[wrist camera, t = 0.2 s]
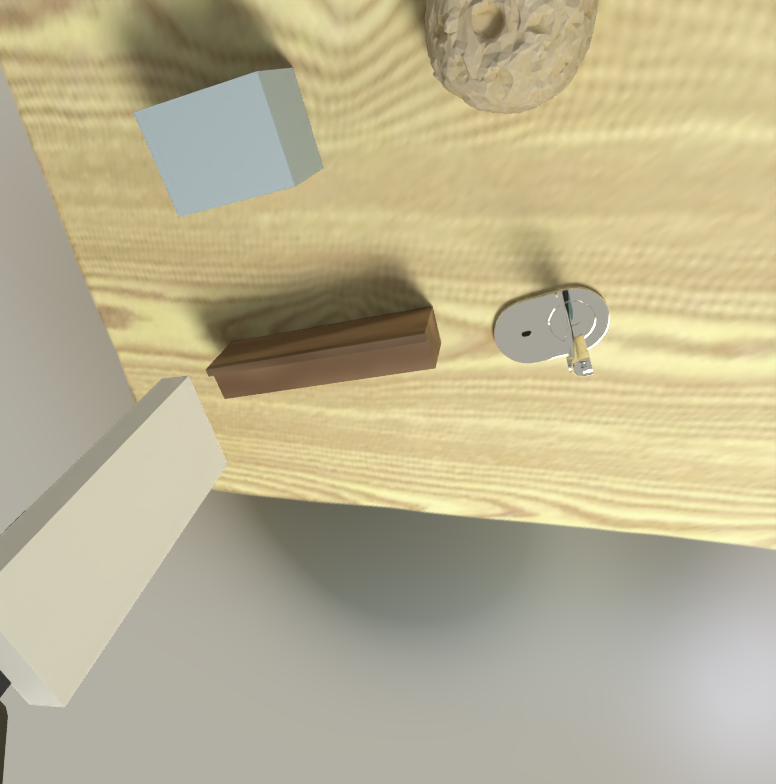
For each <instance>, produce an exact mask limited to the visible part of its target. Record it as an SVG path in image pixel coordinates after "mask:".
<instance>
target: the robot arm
mask: <svg viewBox="0 0 776 784" xmlns="http://www.w3.org/2000/svg"><path fill="white" fill-rule="evenodd" d="M227 464H228V463H227V461H226V459H225V457H224V454H223V452H222V450H221V448H220V445H219V443H218V441H217V439H216V436H215V434H214V432H213V429H212V427H211V425H210V423H209V420H208V418H207V416H206V414H205V411H204V409H203V407H202V405H201V402H200V400H199V398H198V396H197V393H196V391H195V389H194V386H193V384H192V382H191V380H190V377H189V376H182V377H173V378H164V379H161V380H160V381H159V382H158V383H157V384H156V385H155V386H154V387H153V388H152V389H151V390H150V391H149V392H148V393H147V394H146V395H145V396H144V397H143V398H142V399H141V400H140V401H139V402H138V403H137V404H136V405H134V406H133V407H132V408H131V409H130V410H129V411H128V412H127V413H126V414H125V415H124V416H123V417H122V418H121V419H120V420H119V421H118V422H117V423H116V424H115V425H114V426H113V427H112V428H111V429H110V430H109V431H108V432H107V433H106V434H105V435H104V436H103V437H101V438H100V439H99V440H98V441H97V442H96V443H95V444H94V445H93V446H92V447H91V448H90V449H89V450H88V451H87V452H86V453H85V454H84V455H83V456H82V457H81V458H80V459H79V460H78V461H77V462H76V463H75V464H73V466H71V467H70V468H69V469H68V471H66V472H65V473H64V474H63V475H62V476H61V477H60V478H59V479H58V480H57V481H56V482H55V483H54V484H53V485H52V486H51V487H50V488H49V489H48V490H47V491H46V492H45V493H44V494H42V495H41V496H40V497H39V498H38V499H37V500H36V501H35V502H34V503H33V504H32V505H31V506H30V507H29V508H28V509H27V510H26V511H24V512H23V514H21V515H20V516H19V517H18V518H17V519H16V520H15V521H14V522H13V523H12V524H11V525H10V526H9V527H8V528H7V529H6V530H5V531H4V532H3V533H2V534H1V535H0V697H1V696H2V695H3V693H4V692H5V691H6V689H7V688H8V687H9V686H10V684H11V685H12V686H13V687H14V688H15V689H16V690H17V691H18V692H19V694H20V695H21V696H22V697H23V698H24V699H25V700H26V701H27V702H28V704H30V705H42V706H54V707H65V706H66V705H67V703H68V702H69V700H70V699H71V697H72V696H73V694H74V693H75V691H76V690H77V688H78V687H79V685H80V684H81V682H82V681H83V679H84V678H85V676H86V675H87V673H88V672H89V670H90V669H91V667H92V666H93V664H94V663H95V661H96V660H97V658H98V657H99V655H100V654H101V652H102V651H103V649H104V648H105V647H106V645H107V643H108V642H109V641H110V639H111V638H112V636H113V634H114V633H115V631H116V630H117V629H118V627H119V625H120V624H121V622H122V621H123V619H124V618H125V617H126V615H127V614H128V612H129V611H130V609H131V608H132V606H133V604H134V603H135V602H136V600H137V599H138V597H139V596H140V594H141V593H142V591H143V590H144V588H145V587H146V585H147V584H148V582H149V581H150V579H151V578H152V576H153V575H154V573H155V571H156V570H157V569H158V567H159V566H160V564H161V563H162V561H163V560H164V558H165V556H166V555H167V554H168V552H169V551H170V549H171V548H172V546H173V545H174V543H175V542H176V540H177V539H178V537H179V536H180V534H181V533H182V531H183V530H184V528H185V527H186V525H187V524H188V522H189V521H190V519H191V518H192V516H193V515H194V513H195V512H196V510H197V509H198V508H199V506H200V505H201V503H202V501H203V500H204V499H205V497H206V496H207V494H208V493H209V491H210V490H211V488H212V487H213V485H214V484H215V482H216V481H217V479H218V478H219V476H220V475H221V473H222V472H223V470H224V469H225V467H226V466H227ZM7 720H8V715H7V710H6V707H5V706H4V704H3V703H2V702H1V701H0V784H2V782H3V769H4V756H5V744H6V732H7Z"/></svg>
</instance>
